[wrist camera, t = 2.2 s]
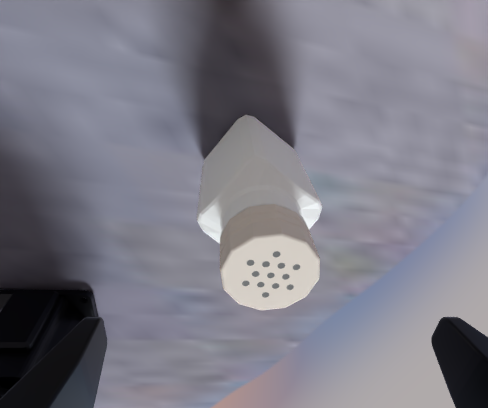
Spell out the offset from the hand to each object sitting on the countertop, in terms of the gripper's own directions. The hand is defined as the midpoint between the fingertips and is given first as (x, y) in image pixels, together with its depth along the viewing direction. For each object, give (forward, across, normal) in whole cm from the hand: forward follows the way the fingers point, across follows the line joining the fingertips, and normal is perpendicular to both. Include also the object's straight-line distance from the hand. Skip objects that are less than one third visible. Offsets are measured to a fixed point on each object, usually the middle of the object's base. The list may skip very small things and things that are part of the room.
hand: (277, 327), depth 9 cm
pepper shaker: (+12, 0, 0) cm, 12 cm away
